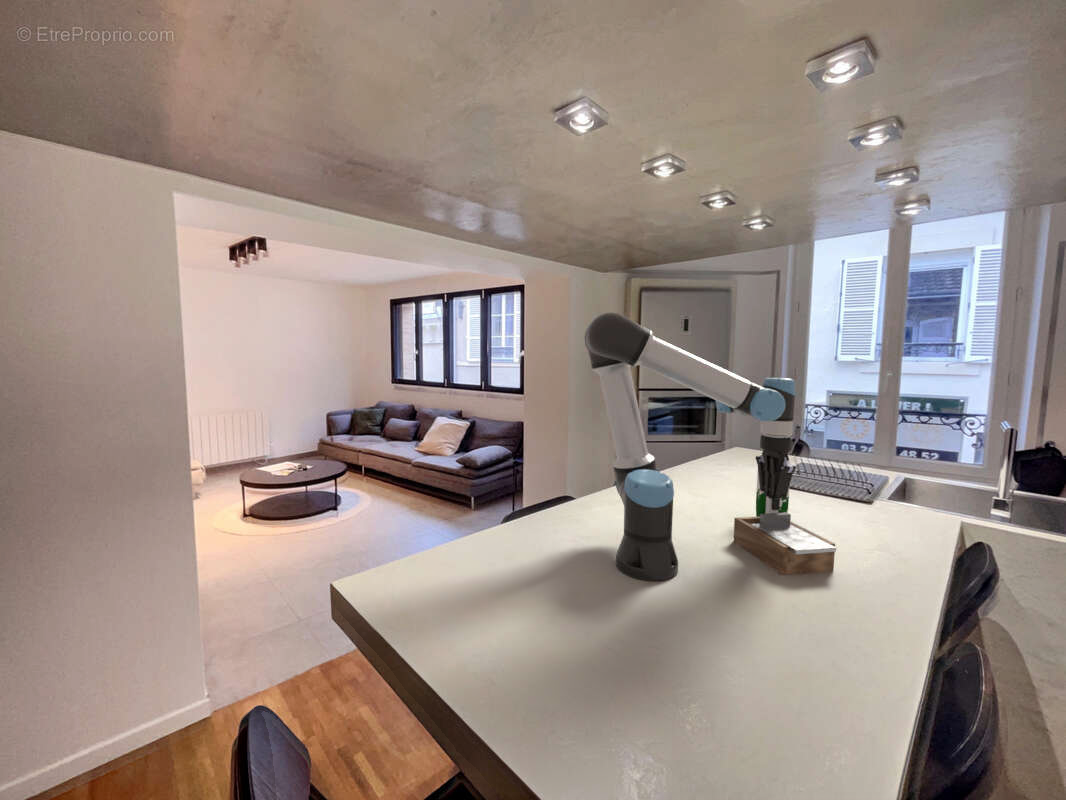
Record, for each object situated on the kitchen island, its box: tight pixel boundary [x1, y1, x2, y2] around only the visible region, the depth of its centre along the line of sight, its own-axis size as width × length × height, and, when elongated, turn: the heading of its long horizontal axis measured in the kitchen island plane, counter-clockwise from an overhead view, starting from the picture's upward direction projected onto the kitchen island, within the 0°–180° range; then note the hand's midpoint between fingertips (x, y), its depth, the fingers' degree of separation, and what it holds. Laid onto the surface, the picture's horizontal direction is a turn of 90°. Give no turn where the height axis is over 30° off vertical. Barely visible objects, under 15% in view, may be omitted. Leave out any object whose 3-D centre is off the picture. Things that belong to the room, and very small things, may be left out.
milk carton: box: [755, 473, 790, 517], centre depth 142 cm, size 9×9×20 cm
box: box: [733, 516, 836, 576], centre depth 118 cm, size 14×20×7 cm
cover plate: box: [751, 512, 837, 554], centre depth 115 cm, size 11×17×4 cm, turn 9°
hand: (771, 520), depth 122 cm, fingers closed
